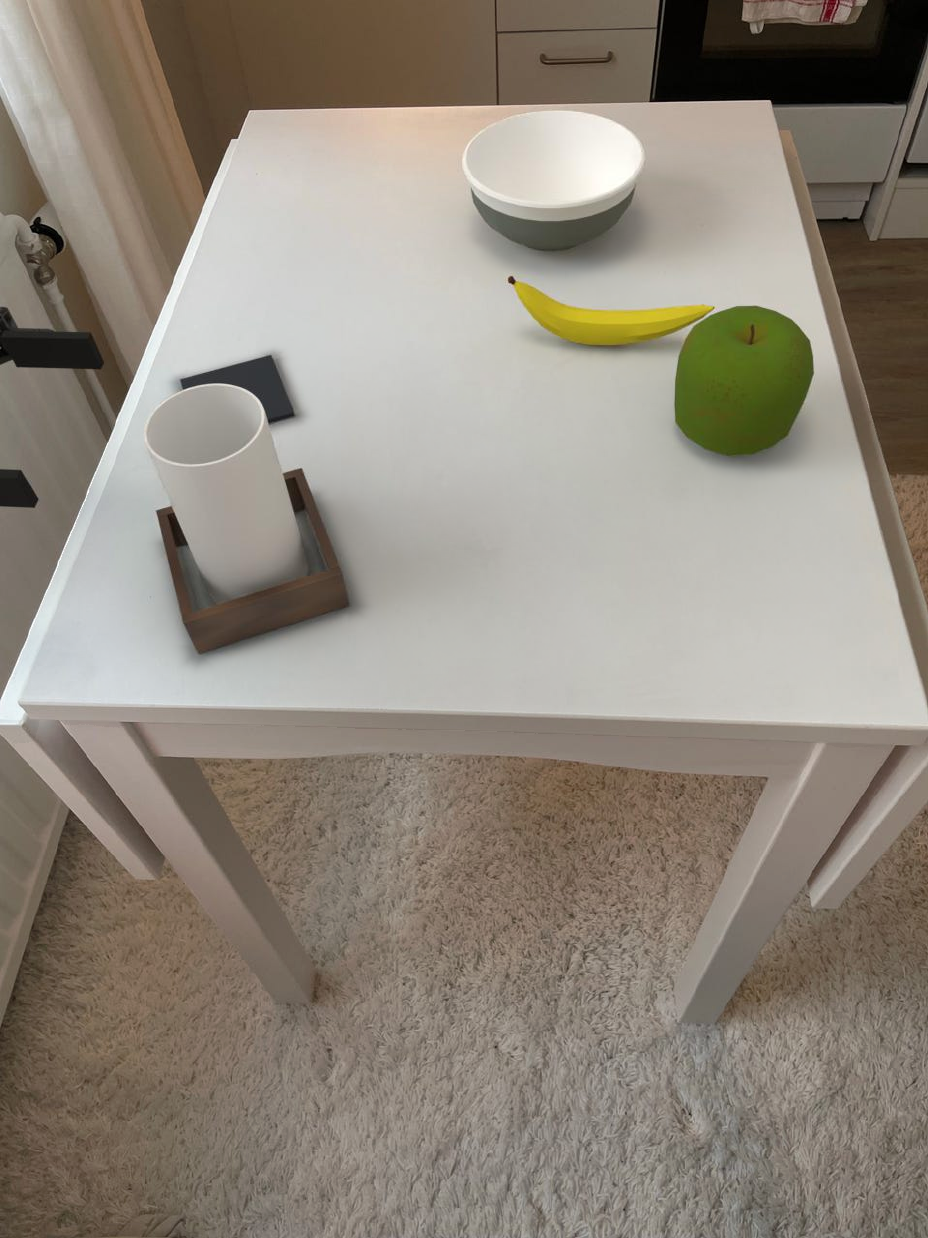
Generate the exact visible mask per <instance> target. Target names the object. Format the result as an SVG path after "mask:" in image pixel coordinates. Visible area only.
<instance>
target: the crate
mask: <svg viewBox="0 0 928 1238" xmlns="http://www.w3.org/2000/svg"><path fill="white" fill-rule="evenodd" d="M282 473H283V476H284V480H285V483H286V487H287V490H288V494H289V498H290V501H291V505H292V508H293V512H294V514H295V513H298V512H302V511H303V512H304V515H305V517H306V521H307V522H308V525H309V528H310V530H311V533H312V536H313V539H314V541H315V544H316V547H317V550H318V552H319V554H320V558H321V560H322V564H323V565H324V568H325V570H323V571H319V572H317V573H313V574H310V575H307V577H304V578H300V579H297V580H294V581H291V582H288V583H284V584H281V585H278V586H275V587H272V588H268V589H265V590H262V591H259V592H256V593H253V594H249V595H246V596H243V597H240V598H237V599H233V600H230V601H227V602H224V603H221V604H218V603H216V604H215V605H212V606H208V607H205V608H202V609H198V605H197V601H196V597H195V593H194V589H193V586H192V581H191V577H190V574H189V570H188V565H187V561H186V558H185V554H184V550H183V547H185V546H189V545H188V543H187V540H186V538H185V536H184V534H183V531H182V529H181V527H180V524H179V522H178V520H177V517H176V515H175V513H174V510H173V508H172V506H171V505H170V506H167V507H166V506H165V507H163V508H160V509H156V510H155V514H156V517H157V521H158V526H159V529H160V534H161V538H162V542H163V546H164V549H165V550H164V551H165V554H166V558H167V562H168V566H169V570H170V571H169V572H170V576H171V579H172V584H173V587H174V591H175V595H176V599H177V604H178V608H179V612H180V617H181V621H182V624H183V626H184V628H185V630H186V632H187V634H188V636H189V639H190V641H191V642H192V644H193V647H194V648H195V650H196V653H197V654H198V655H201V654H204V653H206V652H209V651H212V650H215V649H219V648H221V647H225V646H229V645H231V644H234V643H238V642H240V641H243V640H246V639H249V638H253V637H255V636H258V635H259V636H260V635H262V634H265V633H268V632H271V631H274V630H277V629H281V628H284V627H287V626H290V625H293V624H296V623H299V622H302V621H305V620H308V619H312V618H315V617H318V616H322V615H324V614H327V613H331V612H333V611H336V610H340V609H343V608H346V607H350V606H351V603H350V599H349V595H348V591H347V586H346V582H345V578H344V573H343V571H342V569H341V565H340V563H339V561H338V558H337V555H336V553H335V550H334V548H333V546H332V543H331V540H330V538H329V535H328V532H327V529H326V527H325V524H324V521H323V519H322V517H321V514H320V511H319V509H318V506H317V503H316V501H315V499H314V496H313V493H312V490H311V488H310V485H309V482H308V481H307V478H306V474H305V472H304V470H303V468H302V467H300V468H296V469H293V470H289V471H286V472H282Z"/></svg>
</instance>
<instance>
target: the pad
mask: <svg viewBox="0 0 928 1238" xmlns="http://www.w3.org/2000/svg"><path fill="white" fill-rule="evenodd" d="M179 381H180V385H181V388H182V390H185V389H188V388H191V387H195V386H199V385H205V384H229V385H234V386H238V387H241V388H243V389H246V390H247V391H249V392H251V393H252V394H254V395H255V396H256V397H257V398H258V399H259V401H260V402H261V404H262V406H263V408H264V410H265V413H266V417H267V420H268V424H269V425H270V424H271V423H272V424H273V423H276V422H279V421H282V420H286V419H289V418H293V417H295V416H296V414H295V411H294V408H293V406H292V404H291V400H290V398H289V396H288V394H287V391H286V389H285V386H284V384H283V381H282V378H281V376H280V373H279V371H278V368H277V366H276V363H275V360H274V358H273V356H272V354H269V355H265V356H262V357H257V358H254V359H250V360H246V361H242V362H239V363H236V364H232V365H228V366H224V367H221V368H217V369H214V370H210V371H206V372H203V373H198V374H194V375H191V376H188V377H183V378H179Z"/></svg>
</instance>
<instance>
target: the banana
mask: <svg viewBox="0 0 928 1238" xmlns="http://www.w3.org/2000/svg"><path fill="white" fill-rule="evenodd" d="M507 282H508V284H511V285H512V286H513V288H514V291H515V293H516V296H517V298H518V299H519V300H520V302H521V304H522V306H523V307H524V308H525V309H526V311H527V312H528V313H529V314H530V316H531V317H532V318H533V319H534V320H535V321H536V322H537V323H538V324H539V325H540V326H541V327H542V328H544V329H545V330H547V331H548V332H549V333H550V334H553V335H554V336H556V337H558V338H561V339H564V340H567V341H569V342H573V343H577V344H583V345H588V346H589V345H590V346H617V345H618V346H619V345H628V344H636V343H643V342H646V341H653V340H656V339H660V338H663V337H666V336H668V335H671V334H674V333H676V332H678V331H680V330H683V329H685V328H687V327H689V326H691V325H693V324H694V323H696V322H698V321H701V320H703V319H704V318H706V316H707V315H708V314H709V313H711V312H712V311H714V309H715V306H713V305H707V304H695V305H693V304H692V305H679V306H670V307H669V306H668V307H659V308H649V309H627V310H625V309H623V310H622V309H619V310H617V309H613V310H612V309H611V310H610V309H592V308H585V307H578V306H577V307H576V306H573V305H567V304H565V303H562V302H560V301H557V300H556V299H554V298H552V297H550V296H548V295H547V294H545V293H543V292H542V291H541V290H539V289H538V288H536V287H534V286H532V285H529V284H528V283H527V282H526V283H525V282H522V281H518V280H516V279H515V277H514V276H513V275H510V276H508V278H507Z"/></svg>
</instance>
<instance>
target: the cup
mask: <svg viewBox="0 0 928 1238" xmlns="http://www.w3.org/2000/svg"><path fill="white" fill-rule="evenodd" d="M143 440H144V444H145V447H146V450H147V452H148V455H149V457H150V459H151V461H152V465H153V467H154V469H155V470H156V473H157V476H158V478H159V481H160V482H161V485H162V488H163V489H164V491H165V495H166V496H167V498H168V501H169V504H170V506H172V508H173V510H174V513H175V515H176V517H177V520H178V522H179V524H180V527H181V529H182V531H183V534H184V536H185V538H186V540H187V543H188V545H187V546H188V547H189V550H190V552H191V554H192V556H193V559H194V561H195V563H196V566H197V569H198V571H199V574H200V575H201V577H202V579H203V582H204V585H205V586H206V589H207V592H208V593H209V595H210V597H211V599H213V601H214V602H215V603H216V604H221V603H224V602H227V601H230V600H233V599H237V598H240V597H243V596H246V595H249V594H253V593H256V592H259V591H262V590H265V589H268V588H272V587H275V586H278V585H281V584H284V583H288V582H291V581H294V580H297V579H300V578H304V577H307V576H308V573H309V561H308V558H307V553H306V550H305V547H304V544H303V540H302V537H301V534H300V530H299V529H300V528H299V525H298V522H297V519H296V516H295V513H294V512H293V508H292V505H291V501H290V498H289V494H288V490H287V487H286V483H285V480H284V476H283V473H284V472H283V469H282V465H281V462H280V459H279V456H278V451H277V448H276V444H275V442H274V437H273V435H272V431H271V427H270V423H269V424H268V420H267V417H266V413H265V410H264V408H263V406H262V404H261V402H260V401H259V399H258V398H257V397H256V396H255V395H254V394H252V393H251V392H249V391H247V390H246V389H243V388H241V387H238V386H234V385H229V384H205V385H199V386H195V387H191V388H188V389H185V390H183V389H182V390H180V391H178V392H176V393H174V394H171V395H170V396H169V397H167V398H166V399H164V400H163V401H162V402H160V403H159V404H158V405H157V406H156V407H155V408H154V409H153V410H152V411H151V412H150V414H149V416H148V417H147V419H146V421H145V424H144V428H143Z"/></svg>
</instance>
